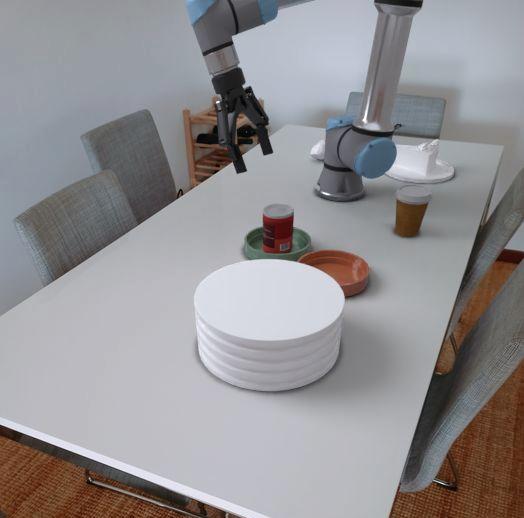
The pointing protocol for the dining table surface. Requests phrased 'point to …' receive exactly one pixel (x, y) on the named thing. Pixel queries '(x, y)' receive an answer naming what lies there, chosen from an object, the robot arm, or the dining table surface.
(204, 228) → the dining table surface
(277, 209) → the canned food
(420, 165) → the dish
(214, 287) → the plate stack
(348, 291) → the terracotta bowl
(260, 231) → the sage bowl
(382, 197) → the dining table surface
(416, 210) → the disposable coffee cup
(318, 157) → the roll
